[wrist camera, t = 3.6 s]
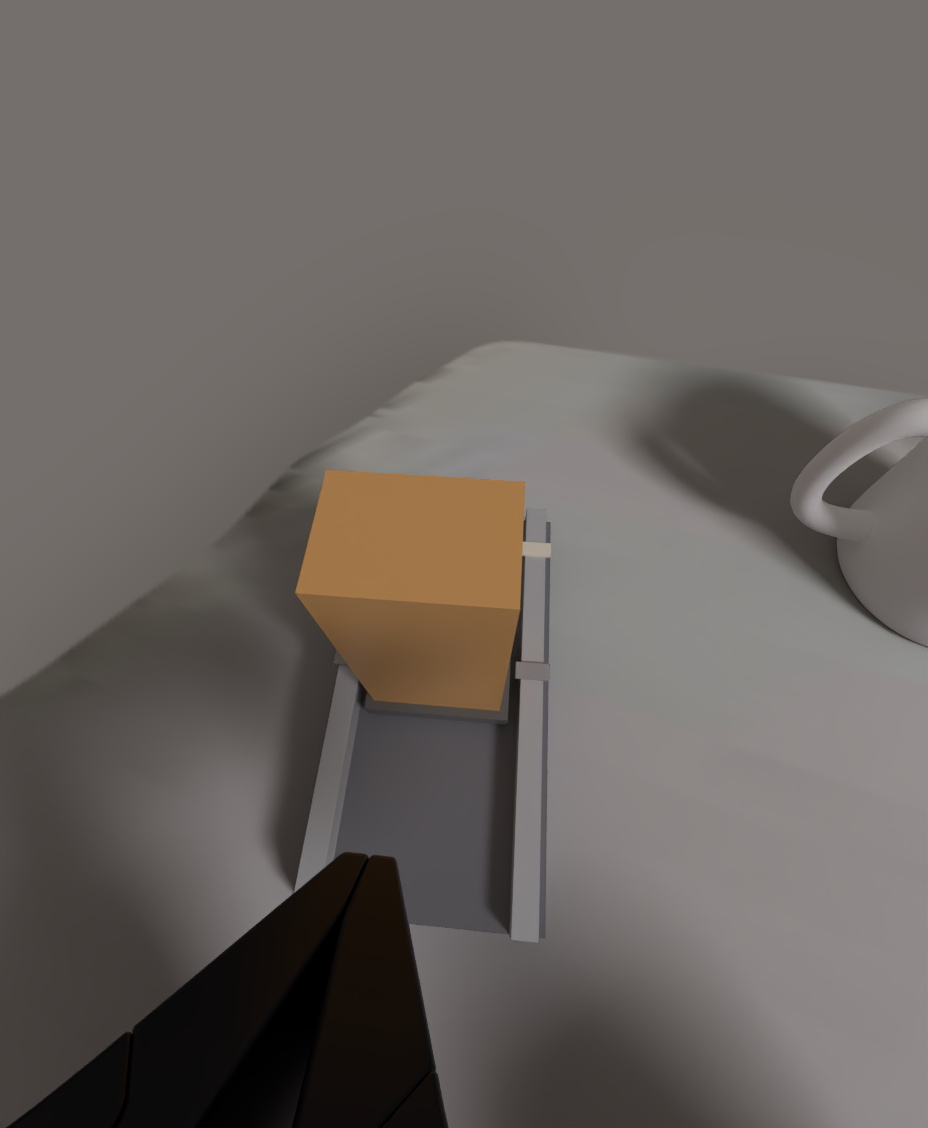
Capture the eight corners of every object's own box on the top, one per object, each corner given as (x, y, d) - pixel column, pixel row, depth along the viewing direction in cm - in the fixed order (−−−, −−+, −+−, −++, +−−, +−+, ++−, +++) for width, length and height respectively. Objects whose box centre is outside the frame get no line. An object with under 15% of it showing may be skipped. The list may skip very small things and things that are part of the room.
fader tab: (506, 724, 19) (535, 625, 10) (368, 713, 19) (275, 606, 10) (510, 630, 20) (539, 471, 12) (383, 620, 21) (316, 458, 12)
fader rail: (539, 930, 18) (549, 945, 15) (303, 905, 18) (278, 915, 16) (546, 539, 24) (553, 508, 22) (374, 528, 25) (364, 496, 22)
